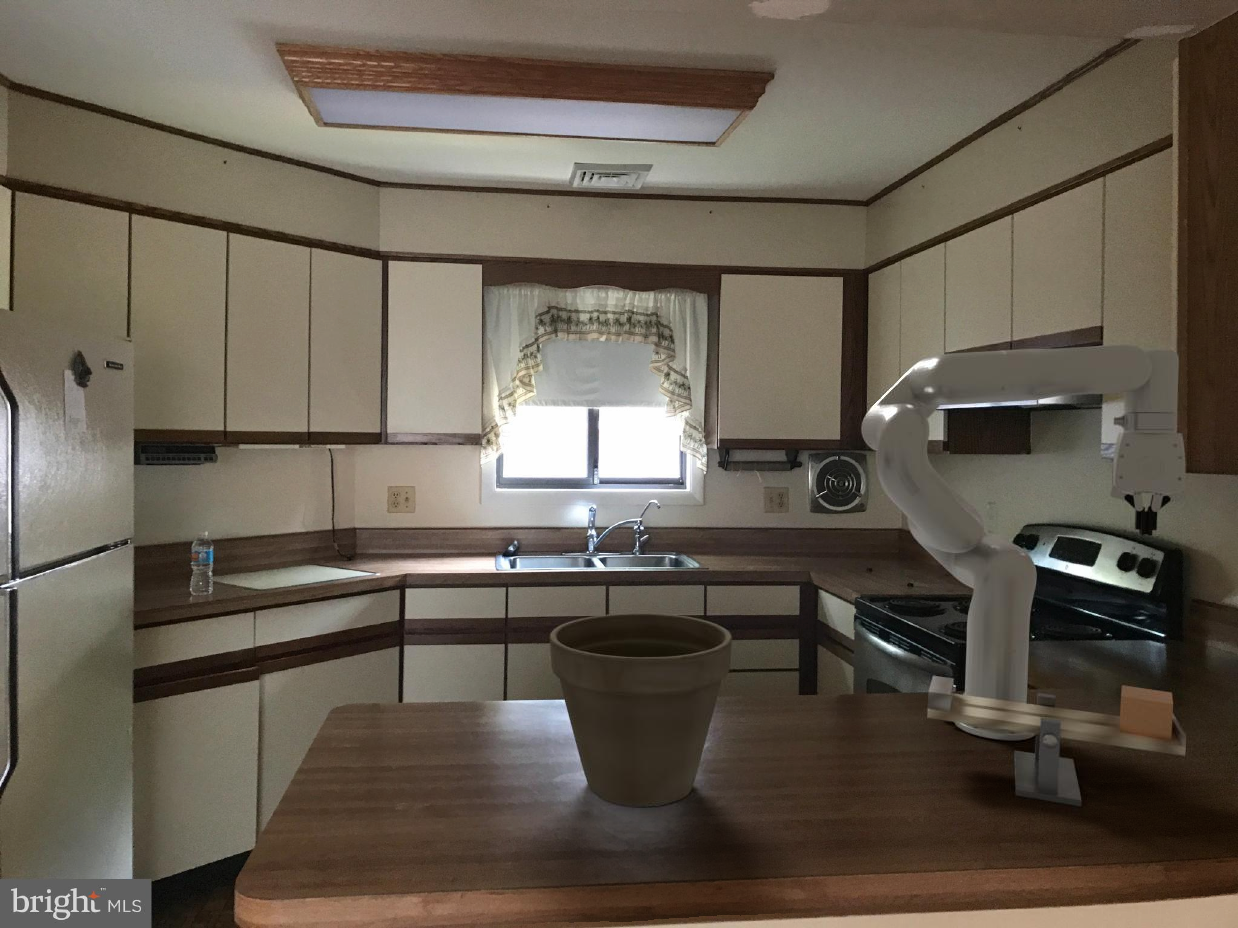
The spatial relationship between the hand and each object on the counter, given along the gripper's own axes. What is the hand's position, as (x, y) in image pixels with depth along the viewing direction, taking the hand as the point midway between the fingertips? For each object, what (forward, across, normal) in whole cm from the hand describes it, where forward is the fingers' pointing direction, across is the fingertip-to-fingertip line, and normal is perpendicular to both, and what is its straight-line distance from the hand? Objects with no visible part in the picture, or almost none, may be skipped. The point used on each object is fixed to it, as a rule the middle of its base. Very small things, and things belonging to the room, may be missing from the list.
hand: (1145, 534), depth 145 cm
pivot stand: (+33, -15, -30) cm, 47 cm away
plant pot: (+33, -67, -58) cm, 95 cm away
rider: (+25, -3, -30) cm, 39 cm away
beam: (+25, -15, -30) cm, 42 cm away
